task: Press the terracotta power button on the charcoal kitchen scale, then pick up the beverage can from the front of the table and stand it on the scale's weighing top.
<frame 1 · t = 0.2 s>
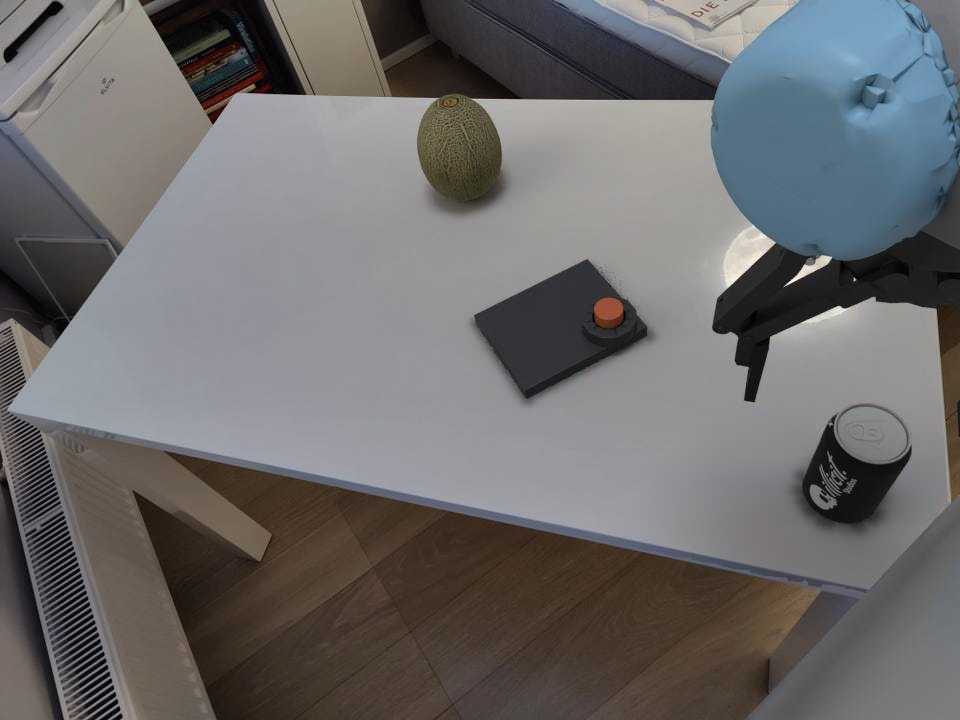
hand: (852, 403, 50), 21 cm above the table, tool pointing down, fingers open, 13 cm apart
beverage can: (837, 495, 67), on the table
fruit: (469, 192, 102), on the table
scale: (558, 329, 84), on the table
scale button: (608, 313, 79), point 4 cm above the table, slide at 0.1 cm
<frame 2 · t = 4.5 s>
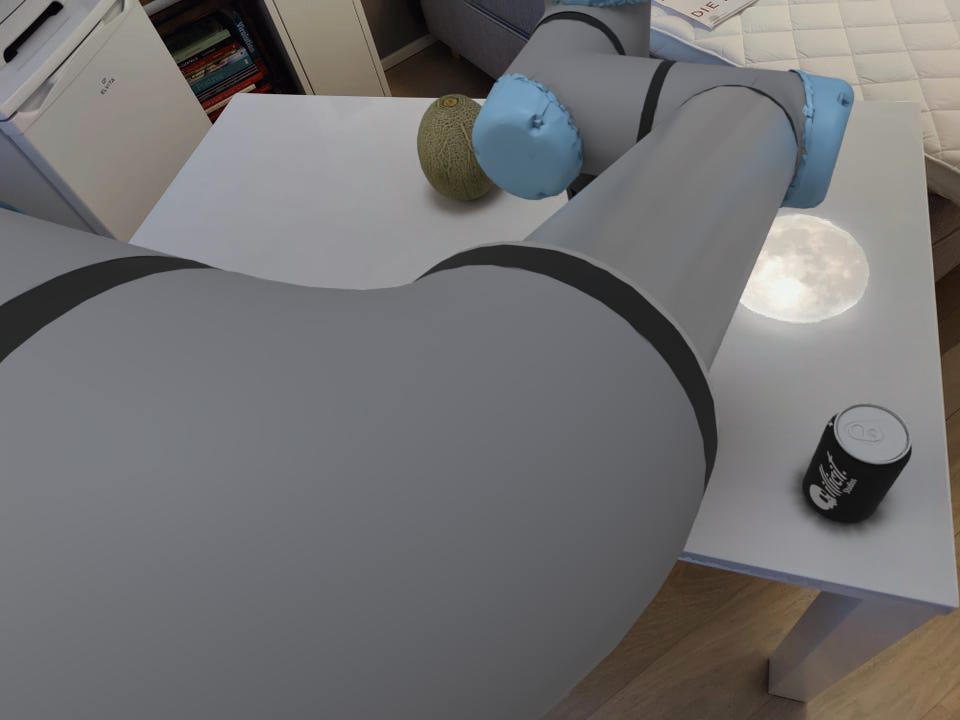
hand: (609, 310, 79), 4 cm above the table, tool pointing down, fingers closed
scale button: (608, 317, 80), point 3 cm above the table, slide at -0.6 cm, touching gripper
everything else where it was.
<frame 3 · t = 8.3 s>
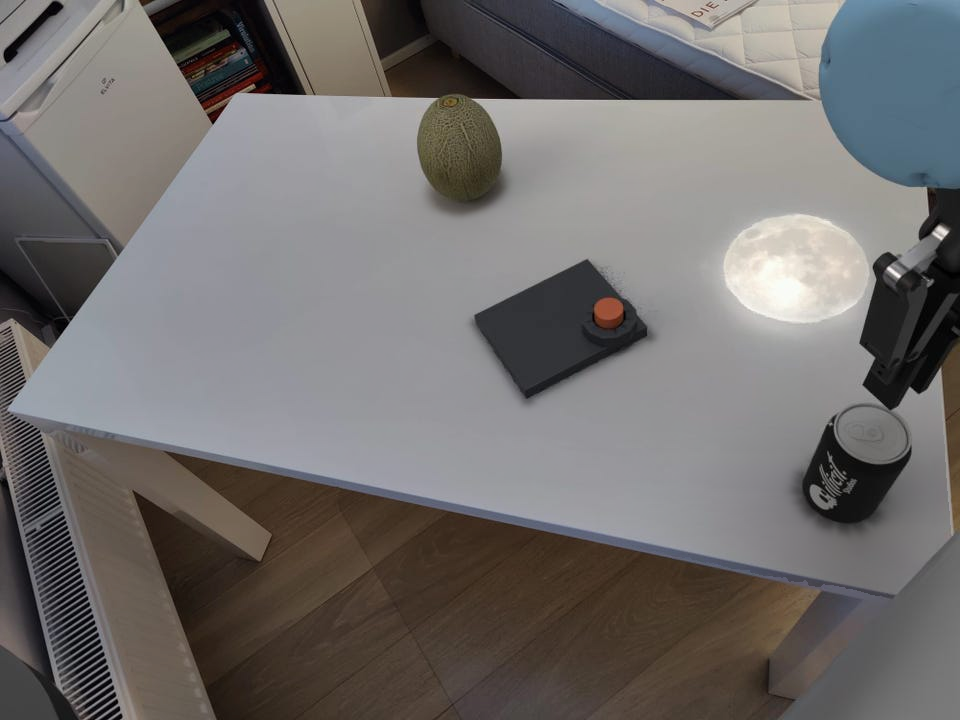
hand: (894, 387, 52), 18 cm above the table, tool pointing down, fingers closed
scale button: (608, 313, 79), point 4 cm above the table, slide at 0.1 cm
everything else where it was.
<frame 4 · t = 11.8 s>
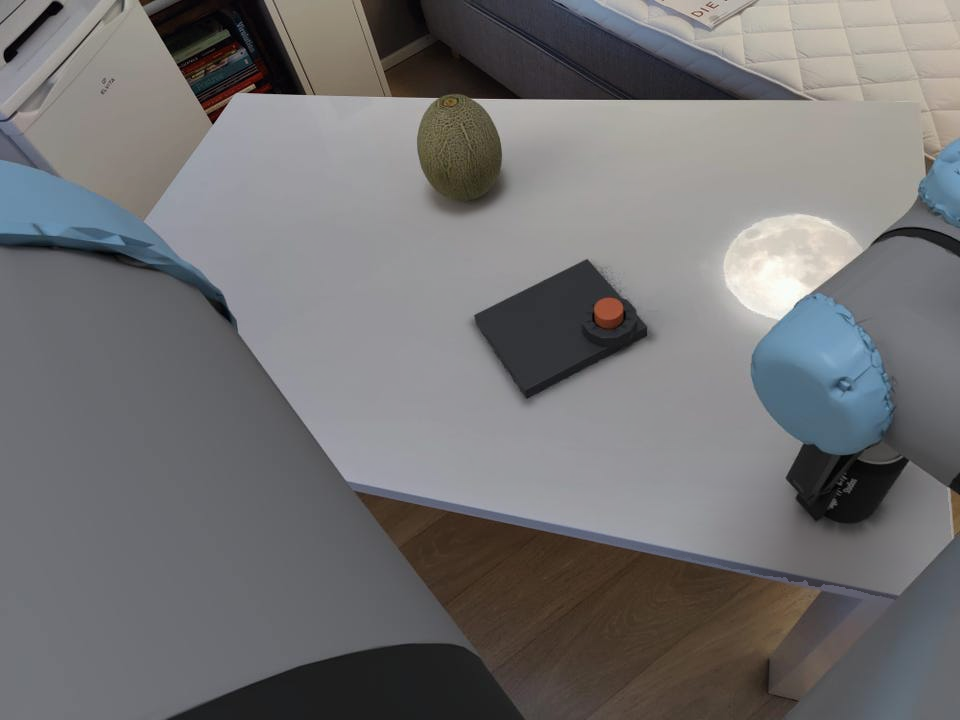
hand: (840, 489, 66), 1 cm above the table, tool pointing down, fingers closed on beverage can, 6 cm apart
beverage can: (837, 494, 67), on the table, touching gripper
everything else where it was.
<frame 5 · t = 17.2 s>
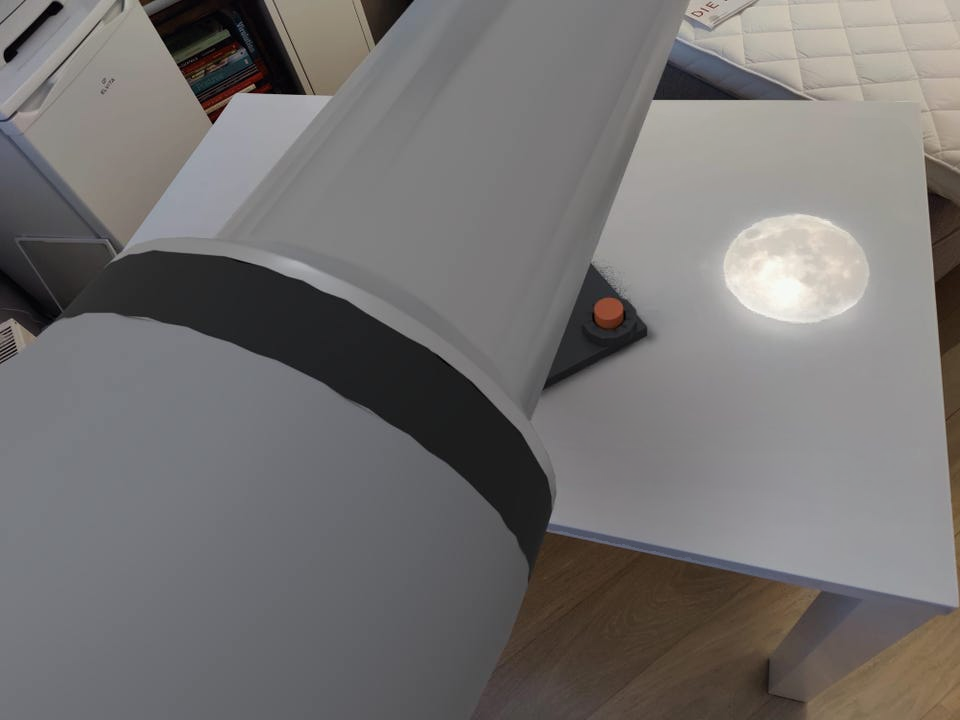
hand: (532, 213, 67), 21 cm above the table, tool pointing down, fingers closed on beverage can, 7 cm apart
beverage can: (534, 222, 67), point 20 cm above the table, touching gripper
everything else where it was.
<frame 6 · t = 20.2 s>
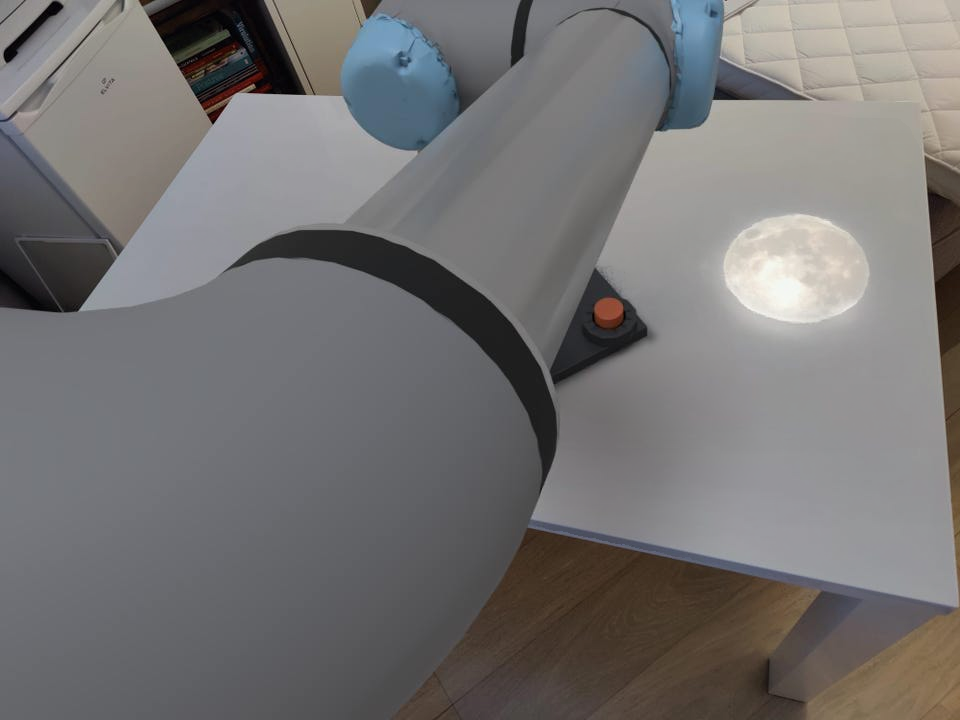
hand: (523, 279, 77), 10 cm above the table, tool pointing down, fingers closed on beverage can, 7 cm apart
beverage can: (524, 286, 77), point 9 cm above the table, touching gripper
everything else where it was.
when the fingers open (3 cm above the table, at t = 22.7 s): beverage can stays where it is, resting on scale.
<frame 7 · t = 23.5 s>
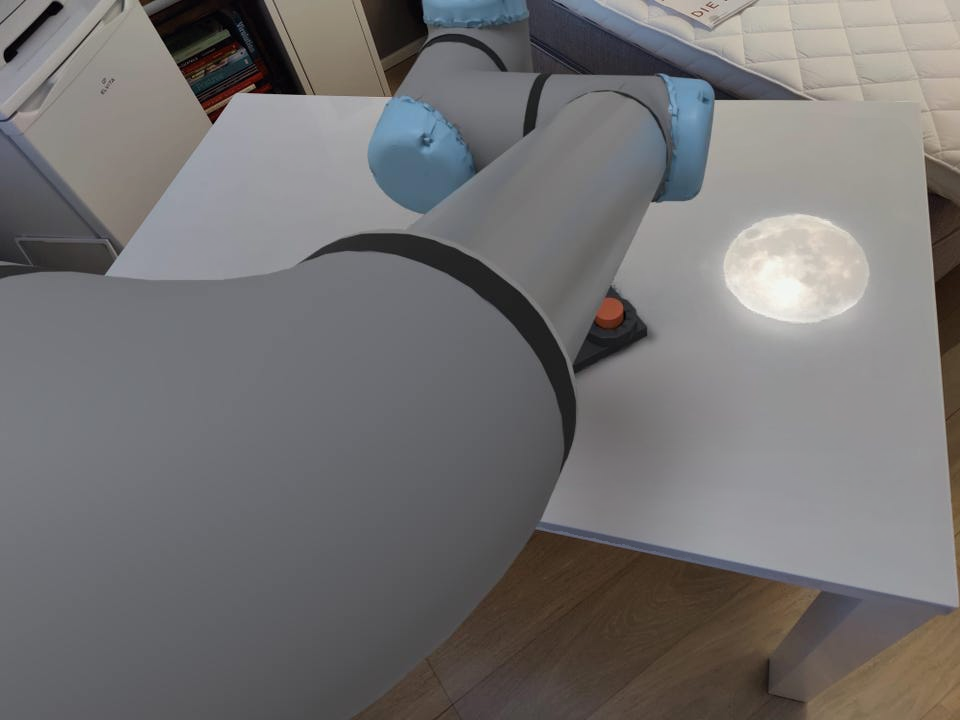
hand: (527, 303, 80), 6 cm above the table, tool pointing down, fingers open, 13 cm apart
beverage can: (531, 327, 83), point 2 cm above the table, touching scale
everything else where it was.
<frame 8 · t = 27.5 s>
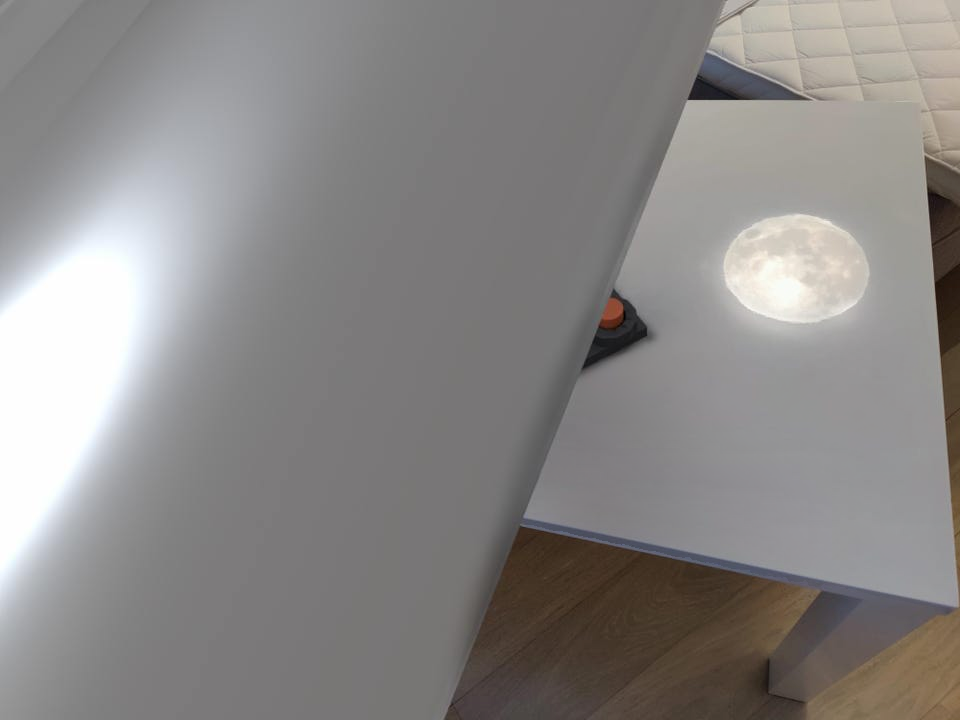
hand: (540, 182, 51), 33 cm above the table, tool pointing down, fingers open, 13 cm apart
nothing on the table moved.
at the end: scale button pushed in 1.0 cm at the most during the clip, back to where it started at the end; beverage can inside the target area on the scale (3.2 cm from its centre), point 1.5 cm above the scale's base; beverage can tilted 0° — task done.
